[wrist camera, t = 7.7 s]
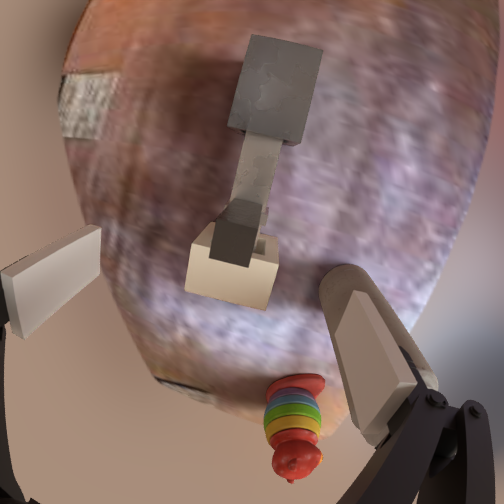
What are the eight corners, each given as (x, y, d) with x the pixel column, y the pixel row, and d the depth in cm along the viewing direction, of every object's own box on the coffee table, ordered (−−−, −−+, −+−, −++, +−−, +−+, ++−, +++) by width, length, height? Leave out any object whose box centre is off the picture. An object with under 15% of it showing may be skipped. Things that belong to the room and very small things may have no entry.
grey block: (256, 62, 31) (251, 34, 22) (310, 75, 31) (323, 50, 22) (238, 133, 34) (226, 126, 25) (293, 146, 35) (300, 143, 25)
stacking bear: (314, 412, 49) (321, 489, 32) (261, 410, 50) (256, 489, 33) (327, 373, 46) (343, 458, 29) (268, 370, 46) (265, 458, 29)
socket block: (211, 221, 38) (191, 243, 29) (277, 237, 39) (279, 264, 29) (203, 259, 40) (184, 290, 31) (267, 275, 40) (265, 310, 31)
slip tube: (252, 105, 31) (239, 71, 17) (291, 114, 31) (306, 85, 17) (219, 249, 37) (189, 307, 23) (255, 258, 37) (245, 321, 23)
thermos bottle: (367, 312, 41) (440, 468, 15) (316, 315, 42) (353, 490, 15) (373, 263, 39) (481, 410, 12) (319, 264, 39) (380, 439, 13)
